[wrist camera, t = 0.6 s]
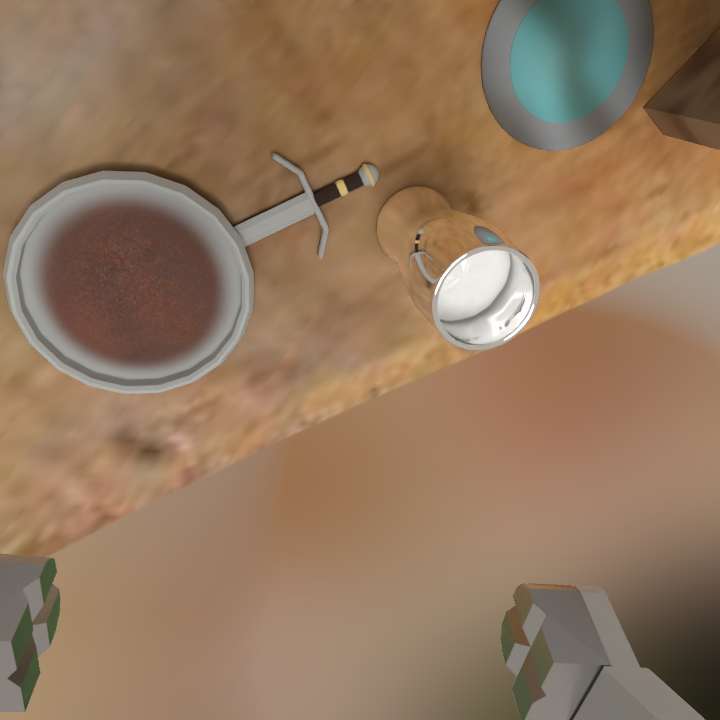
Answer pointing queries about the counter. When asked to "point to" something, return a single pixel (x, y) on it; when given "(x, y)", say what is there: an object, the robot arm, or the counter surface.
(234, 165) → the counter surface
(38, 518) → the counter surface
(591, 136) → the shelf bridge
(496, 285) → the beer glass
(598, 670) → the robot arm
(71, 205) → the frying pan
